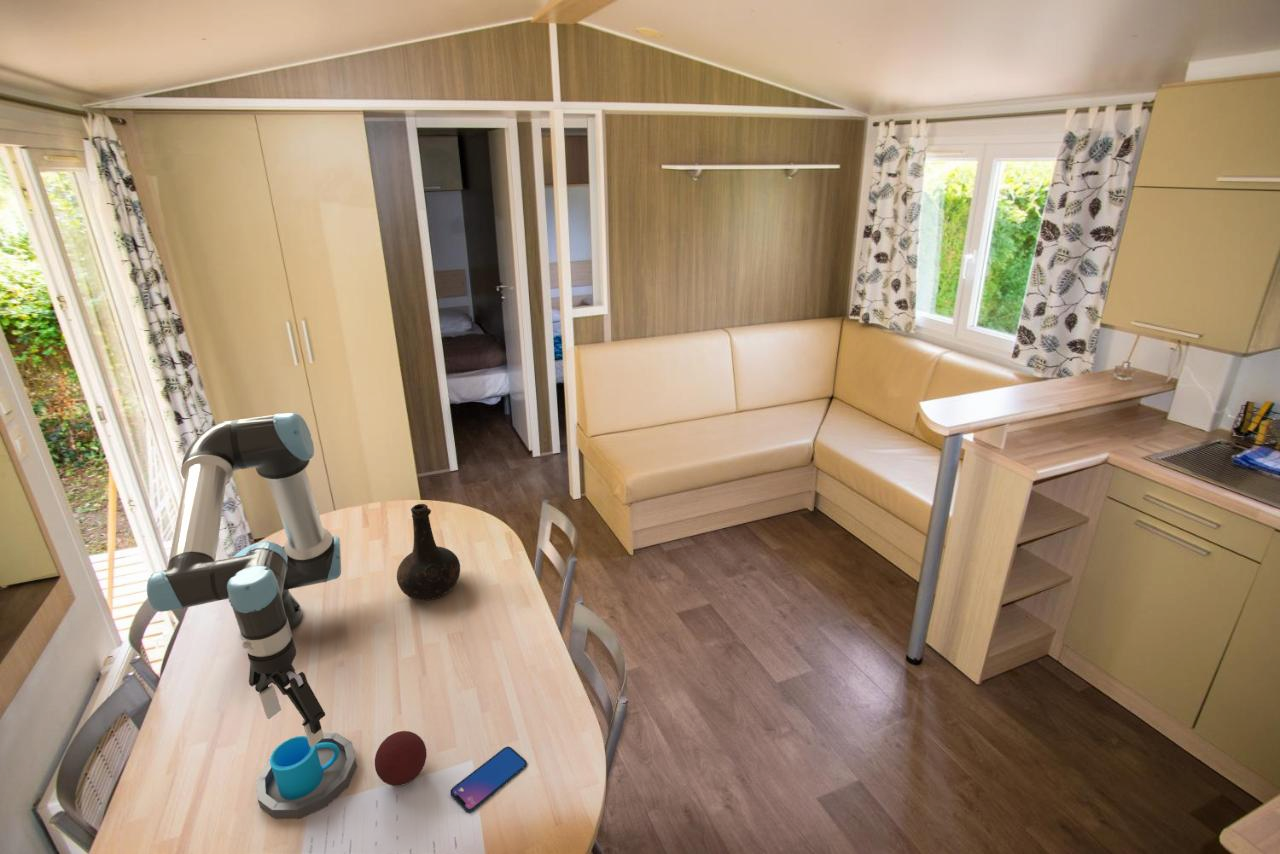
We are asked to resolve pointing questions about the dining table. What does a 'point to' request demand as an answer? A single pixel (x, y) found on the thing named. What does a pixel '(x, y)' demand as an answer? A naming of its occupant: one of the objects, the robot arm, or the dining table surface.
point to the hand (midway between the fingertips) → (295, 727)
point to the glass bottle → (427, 562)
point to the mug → (299, 766)
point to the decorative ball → (400, 758)
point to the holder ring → (323, 795)
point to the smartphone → (488, 779)
